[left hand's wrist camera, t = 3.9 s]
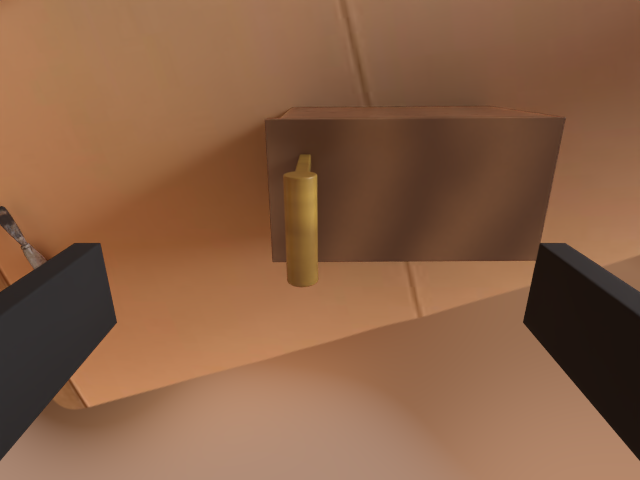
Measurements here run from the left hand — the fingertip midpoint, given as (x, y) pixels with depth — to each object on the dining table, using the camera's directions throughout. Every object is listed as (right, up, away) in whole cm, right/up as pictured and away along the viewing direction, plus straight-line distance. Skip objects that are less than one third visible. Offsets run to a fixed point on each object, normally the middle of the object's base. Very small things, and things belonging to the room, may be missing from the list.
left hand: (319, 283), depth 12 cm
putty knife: (-28, +1, +27) cm, 39 cm away
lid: (+6, +5, +14) cm, 16 cm away
